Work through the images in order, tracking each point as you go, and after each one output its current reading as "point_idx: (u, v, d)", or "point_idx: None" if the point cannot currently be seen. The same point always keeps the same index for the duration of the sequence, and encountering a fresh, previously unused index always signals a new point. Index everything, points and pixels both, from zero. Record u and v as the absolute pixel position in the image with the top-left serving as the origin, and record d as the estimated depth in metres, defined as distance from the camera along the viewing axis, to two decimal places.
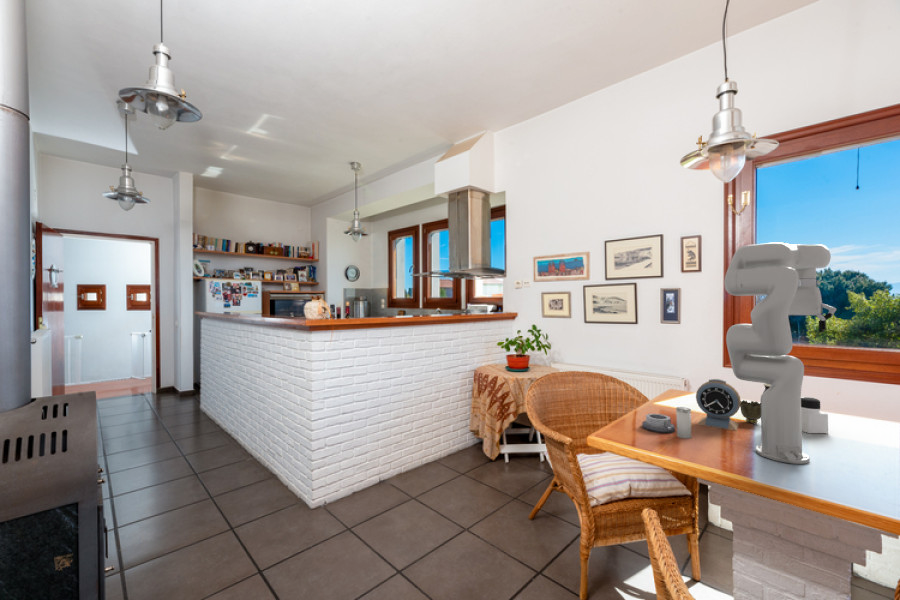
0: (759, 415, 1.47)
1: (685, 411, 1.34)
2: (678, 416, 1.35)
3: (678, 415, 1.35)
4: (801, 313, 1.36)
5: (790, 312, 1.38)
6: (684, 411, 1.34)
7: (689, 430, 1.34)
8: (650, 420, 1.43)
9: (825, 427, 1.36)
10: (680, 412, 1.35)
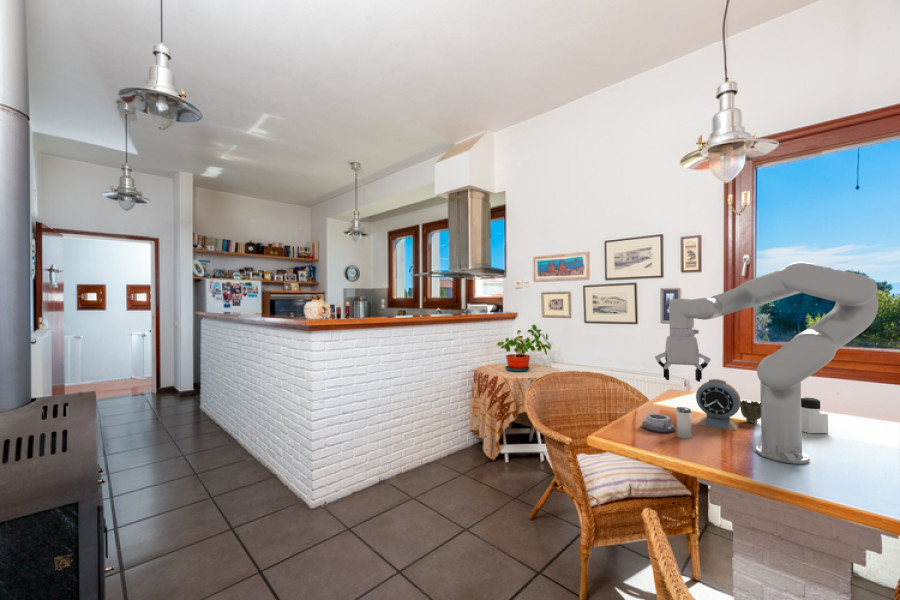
0: (759, 415, 1.47)
1: (685, 411, 1.34)
2: (678, 416, 1.35)
3: (678, 415, 1.35)
4: None
5: None
6: (684, 411, 1.34)
7: (689, 430, 1.34)
8: (650, 420, 1.43)
9: (825, 427, 1.36)
10: (680, 412, 1.35)
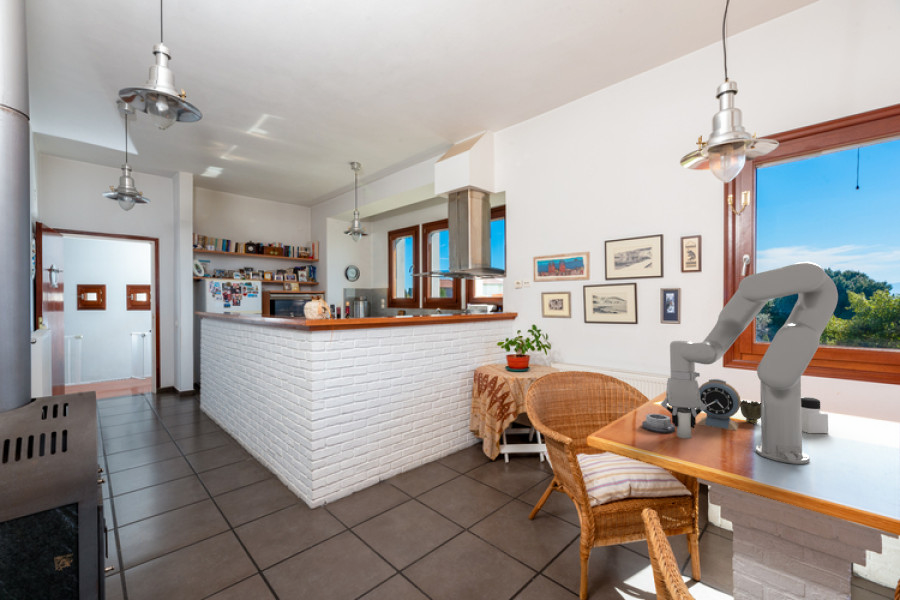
0: (759, 415, 1.47)
1: (685, 411, 1.34)
2: (678, 416, 1.35)
3: (678, 415, 1.35)
4: None
5: None
6: (684, 411, 1.34)
7: (689, 430, 1.34)
8: (650, 420, 1.43)
9: (825, 427, 1.36)
10: (680, 412, 1.35)
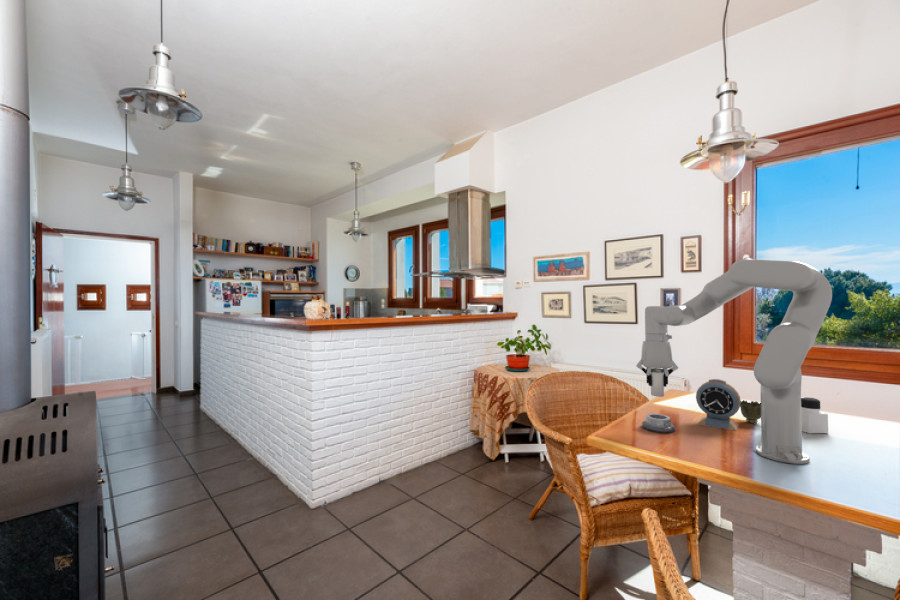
0: (759, 415, 1.47)
1: (658, 371, 1.43)
2: (652, 376, 1.44)
3: (652, 374, 1.45)
4: None
5: None
6: (657, 371, 1.43)
7: (662, 389, 1.43)
8: (650, 420, 1.43)
9: (825, 427, 1.36)
10: (653, 372, 1.44)
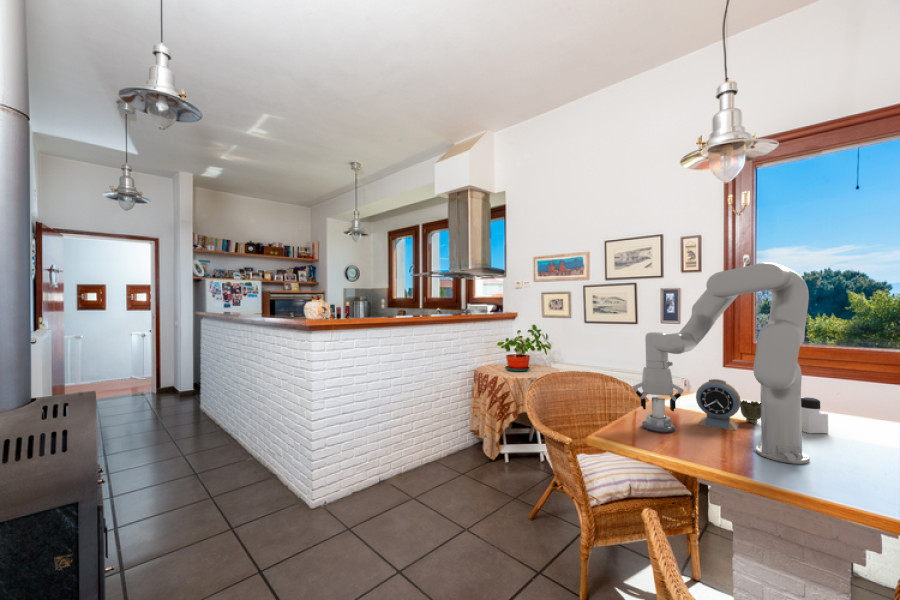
0: (759, 415, 1.47)
1: (659, 400, 1.43)
2: (653, 405, 1.44)
3: (653, 404, 1.44)
4: None
5: None
6: (658, 400, 1.43)
7: (663, 418, 1.43)
8: (650, 420, 1.43)
9: (825, 427, 1.36)
10: (655, 401, 1.44)
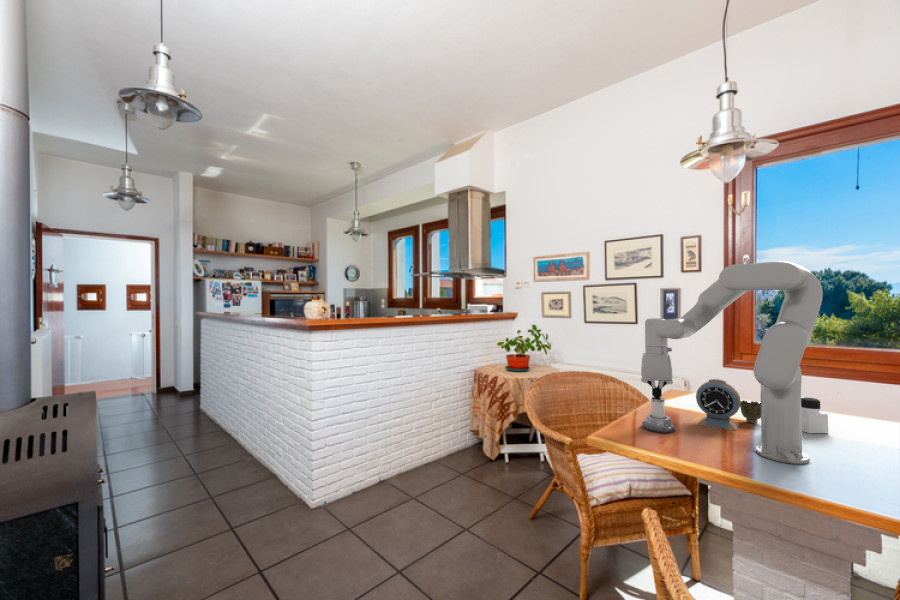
0: (759, 415, 1.47)
1: (659, 400, 1.43)
2: (653, 405, 1.44)
3: (653, 404, 1.44)
4: None
5: None
6: (658, 400, 1.43)
7: (663, 418, 1.43)
8: (650, 420, 1.43)
9: (825, 427, 1.36)
10: (654, 401, 1.44)
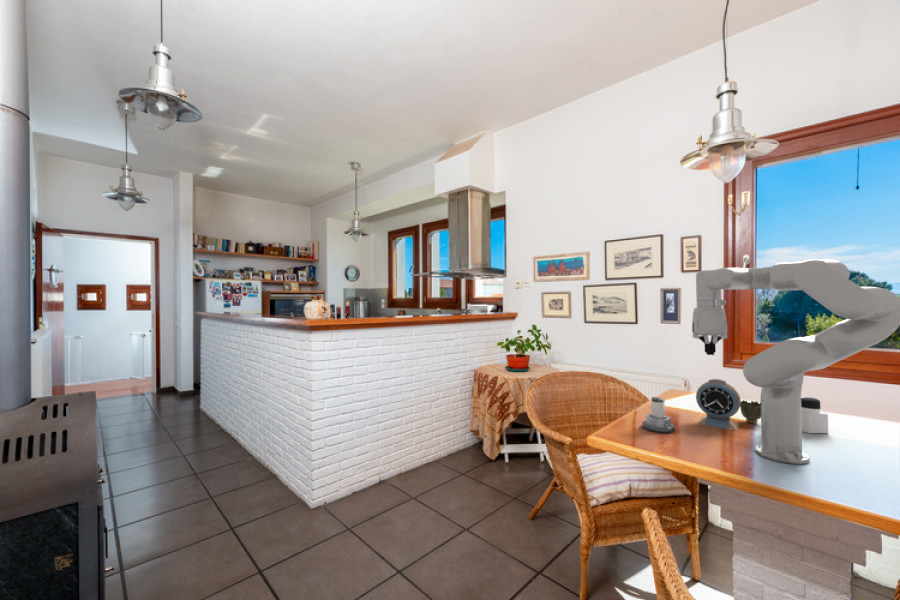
0: (759, 415, 1.47)
1: (659, 400, 1.43)
2: (653, 405, 1.44)
3: (653, 404, 1.44)
4: None
5: None
6: (658, 400, 1.43)
7: (663, 418, 1.43)
8: (650, 420, 1.43)
9: (825, 427, 1.36)
10: (655, 401, 1.44)
